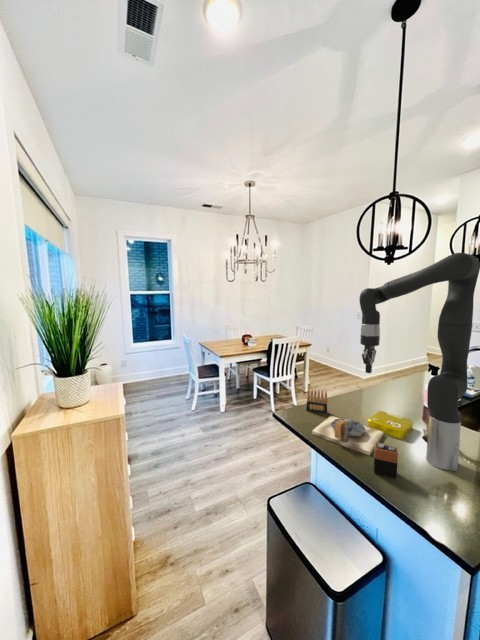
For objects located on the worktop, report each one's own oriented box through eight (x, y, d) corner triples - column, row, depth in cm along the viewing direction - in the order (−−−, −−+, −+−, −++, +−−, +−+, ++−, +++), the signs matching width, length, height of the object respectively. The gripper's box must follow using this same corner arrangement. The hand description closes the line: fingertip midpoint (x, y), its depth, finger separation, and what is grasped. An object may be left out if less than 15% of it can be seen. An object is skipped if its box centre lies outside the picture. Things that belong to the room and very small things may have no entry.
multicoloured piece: (339, 418, 126) (339, 406, 126) (368, 427, 118) (368, 414, 117) (322, 432, 114) (322, 419, 113) (353, 443, 105) (354, 429, 104)
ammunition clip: (306, 410, 142) (306, 388, 141) (306, 409, 144) (306, 387, 143) (327, 413, 138) (327, 391, 137) (327, 412, 140) (327, 390, 139)
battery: (373, 466, 96) (374, 440, 95) (395, 471, 93) (396, 444, 92) (373, 474, 92) (375, 446, 91) (396, 479, 89) (398, 451, 88)
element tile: (413, 429, 123) (414, 419, 122) (402, 441, 113) (403, 430, 112) (379, 418, 134) (379, 409, 134) (366, 428, 124) (366, 418, 124)
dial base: (383, 435, 117) (384, 417, 116) (369, 455, 102) (370, 435, 101) (330, 418, 133) (331, 403, 132) (311, 434, 118) (312, 416, 117)
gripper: (365, 331, 124) (364, 368, 126) (356, 335, 114) (354, 374, 116) (383, 333, 119) (381, 371, 121) (374, 336, 109) (373, 377, 111)
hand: (368, 372), depth 118 cm, fingers closed
